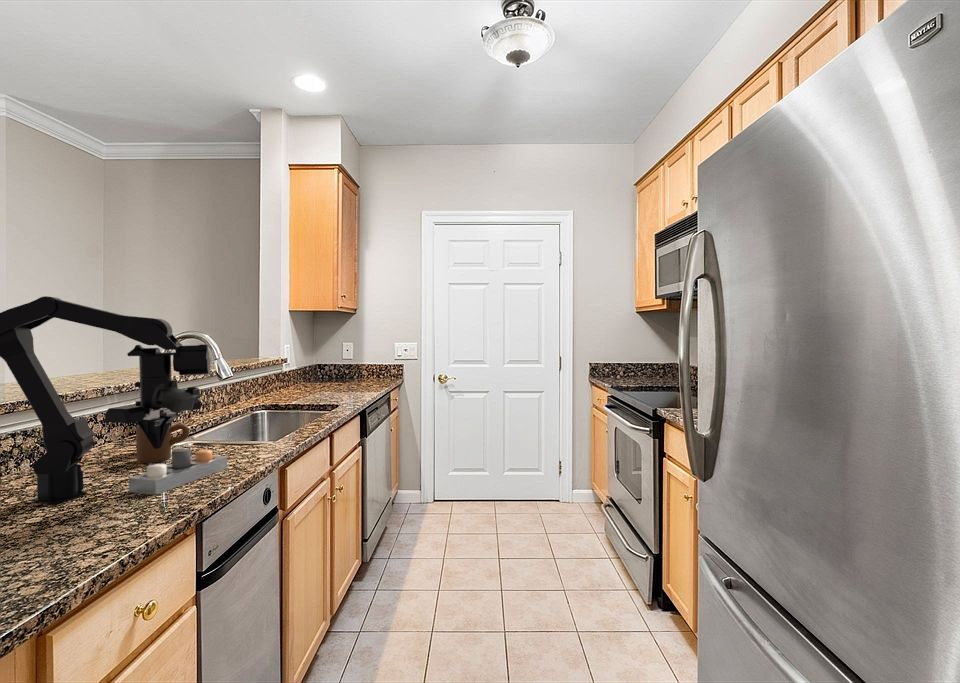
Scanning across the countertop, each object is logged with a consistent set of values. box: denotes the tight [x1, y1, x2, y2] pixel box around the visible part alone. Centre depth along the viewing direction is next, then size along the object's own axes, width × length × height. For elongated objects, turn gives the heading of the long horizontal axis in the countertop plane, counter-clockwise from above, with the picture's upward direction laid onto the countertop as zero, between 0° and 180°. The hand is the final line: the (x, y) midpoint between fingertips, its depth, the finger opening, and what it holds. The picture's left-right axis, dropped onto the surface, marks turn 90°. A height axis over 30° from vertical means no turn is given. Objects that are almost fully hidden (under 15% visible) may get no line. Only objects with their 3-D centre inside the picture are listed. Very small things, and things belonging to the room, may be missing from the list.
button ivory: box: [146, 463, 168, 478], centre depth 107 cm, size 4×4×4 cm
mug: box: [135, 423, 190, 464], centre depth 131 cm, size 12×8×9 cm, turn 112°
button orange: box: [194, 449, 213, 462], centre depth 119 cm, size 4×4×4 cm
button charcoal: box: [171, 448, 192, 470], centre depth 113 cm, size 4×4×4 cm
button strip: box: [128, 454, 228, 496], centre depth 113 cm, size 20×7×3 cm, turn 166°
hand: (157, 448), depth 107 cm, fingers closed
